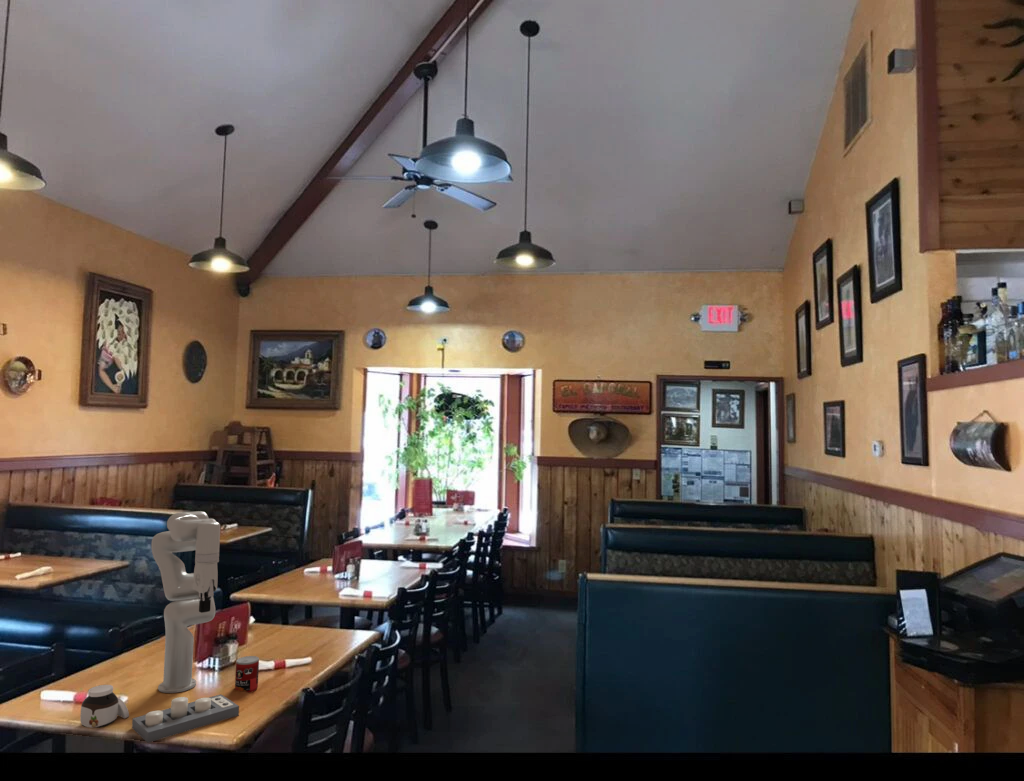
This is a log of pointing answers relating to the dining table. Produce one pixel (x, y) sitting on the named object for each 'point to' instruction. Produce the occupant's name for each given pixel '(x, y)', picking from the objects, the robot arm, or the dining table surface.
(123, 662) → the dining table surface
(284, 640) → the dining table surface
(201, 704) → the button
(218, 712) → the board
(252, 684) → the canned food
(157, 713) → the button
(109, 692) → the spread jar
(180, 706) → the button
